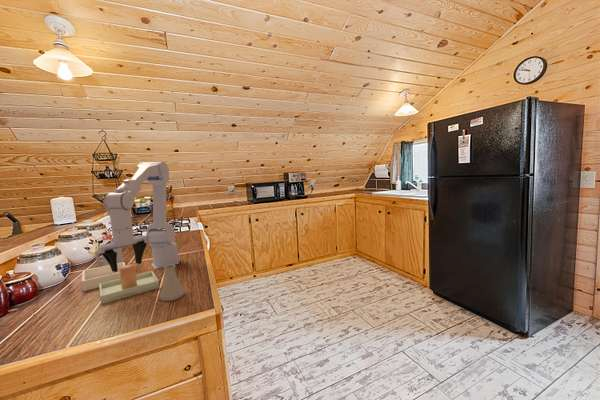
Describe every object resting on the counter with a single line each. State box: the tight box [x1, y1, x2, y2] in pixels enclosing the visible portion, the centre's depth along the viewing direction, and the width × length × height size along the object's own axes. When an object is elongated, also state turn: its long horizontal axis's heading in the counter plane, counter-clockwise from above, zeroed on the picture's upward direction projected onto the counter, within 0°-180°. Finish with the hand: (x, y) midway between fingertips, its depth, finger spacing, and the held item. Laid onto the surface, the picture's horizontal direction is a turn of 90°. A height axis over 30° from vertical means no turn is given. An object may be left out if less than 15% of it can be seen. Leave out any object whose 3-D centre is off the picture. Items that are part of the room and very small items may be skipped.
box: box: [81, 261, 126, 292], centre depth 96 cm, size 13×13×4 cm
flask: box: [159, 264, 186, 302], centre depth 82 cm, size 7×7×10 cm
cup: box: [94, 247, 124, 266], centre depth 113 cm, size 7×10×9 cm
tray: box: [99, 270, 160, 305], centre depth 88 cm, size 16×12×2 cm
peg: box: [119, 263, 137, 289], centre depth 88 cm, size 4×4×7 cm
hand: (127, 267), depth 88 cm, fingers open, 7 cm apart
